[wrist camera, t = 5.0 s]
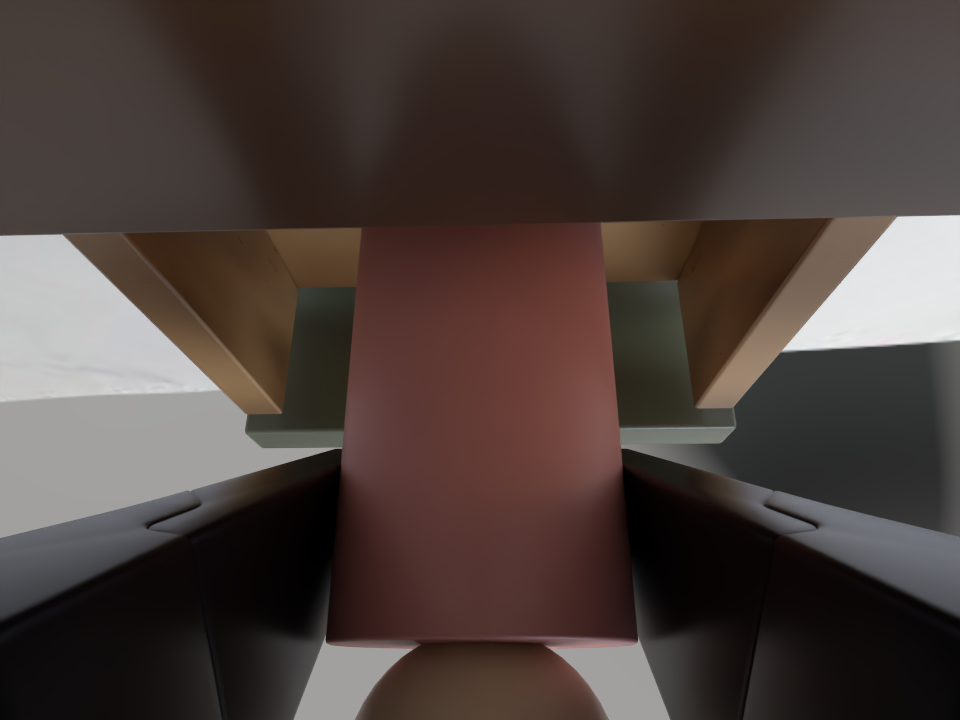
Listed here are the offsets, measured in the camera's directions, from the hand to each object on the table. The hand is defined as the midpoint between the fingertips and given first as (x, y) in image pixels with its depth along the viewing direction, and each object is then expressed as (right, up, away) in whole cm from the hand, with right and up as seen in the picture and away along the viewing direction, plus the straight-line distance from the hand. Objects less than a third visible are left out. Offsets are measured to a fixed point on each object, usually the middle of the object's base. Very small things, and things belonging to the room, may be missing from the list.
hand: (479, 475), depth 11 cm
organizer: (0, +11, -8) cm, 14 cm away
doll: (0, +5, +1) cm, 5 cm away
